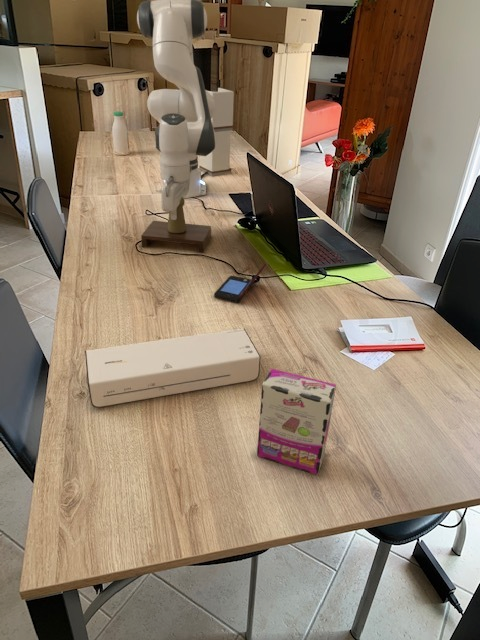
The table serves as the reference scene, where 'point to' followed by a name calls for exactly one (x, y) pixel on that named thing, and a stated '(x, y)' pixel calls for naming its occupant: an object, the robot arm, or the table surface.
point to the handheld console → (235, 288)
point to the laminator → (170, 367)
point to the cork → (177, 220)
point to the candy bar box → (294, 420)
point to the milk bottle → (120, 134)
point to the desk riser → (177, 234)
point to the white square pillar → (220, 134)
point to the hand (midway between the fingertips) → (176, 215)
